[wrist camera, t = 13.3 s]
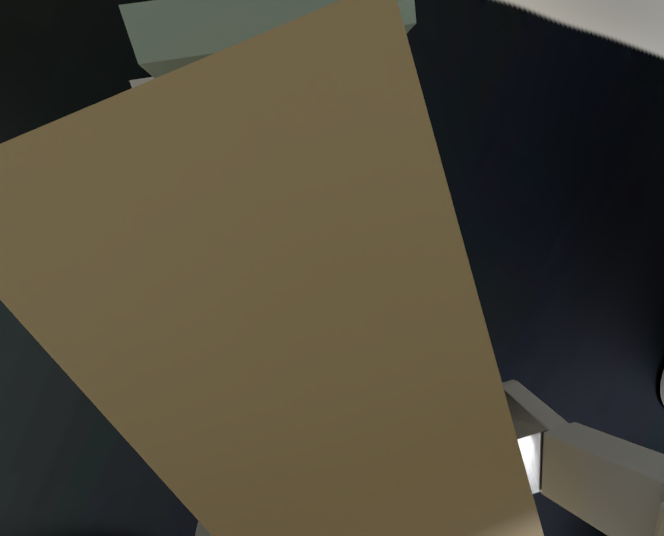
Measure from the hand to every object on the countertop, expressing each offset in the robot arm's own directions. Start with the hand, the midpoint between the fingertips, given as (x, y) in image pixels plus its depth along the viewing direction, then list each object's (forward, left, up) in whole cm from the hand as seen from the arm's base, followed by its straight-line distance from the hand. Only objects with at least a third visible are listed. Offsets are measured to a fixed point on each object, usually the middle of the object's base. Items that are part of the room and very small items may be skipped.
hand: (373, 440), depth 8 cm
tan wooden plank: (0, 0, -2) cm, 2 cm away
